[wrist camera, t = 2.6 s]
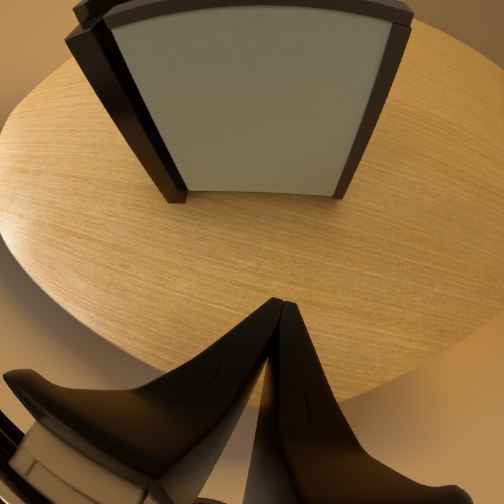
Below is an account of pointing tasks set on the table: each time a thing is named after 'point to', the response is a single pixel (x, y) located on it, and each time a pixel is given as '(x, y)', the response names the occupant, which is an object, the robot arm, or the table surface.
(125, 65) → the shower stall
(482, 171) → the table surface
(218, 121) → the shower door
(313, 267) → the table surface
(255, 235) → the table surface
